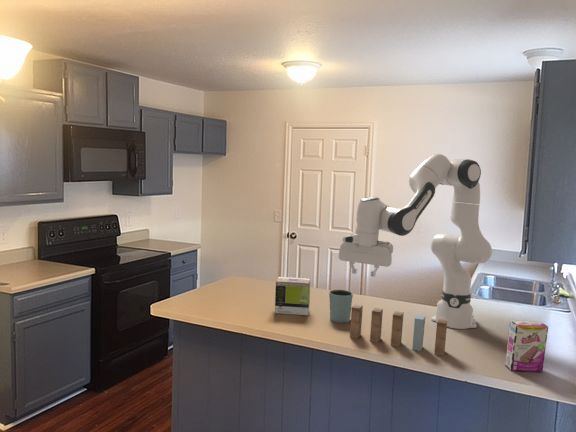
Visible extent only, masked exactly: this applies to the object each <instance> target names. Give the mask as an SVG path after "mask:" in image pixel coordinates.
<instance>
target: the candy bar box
mask: <svg viewBox="0 0 576 432" xmlns="http://www.w3.org/2000/svg"><path fill="white" fill-rule="evenodd" d="M509 321H510V322H509V328H508V338H507V346H506V352H505V353H506V354H505V363H504V366H505V367H506V368H508V370H510V371H511V372H527V373H528V372H530V373H543V370H544V363H545V362H544V361H545V354H546V347H547V346H546V345H547V339H548V331H549V326H548V325H547V324H544V323H543V322H542V321H527V320H524V321H523V320H509Z"/></svg>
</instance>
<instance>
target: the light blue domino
mask: <svg viewBox="0 0 576 432" xmlns="http://www.w3.org/2000/svg"><path fill="white" fill-rule="evenodd" d="M425 324H426V315H421V314H416V316H414V324H413V337H412V347H411V348H412V350H413V351H416V350H417V352H422V350H423V347H424V337H425V336H424V334H425Z"/></svg>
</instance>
